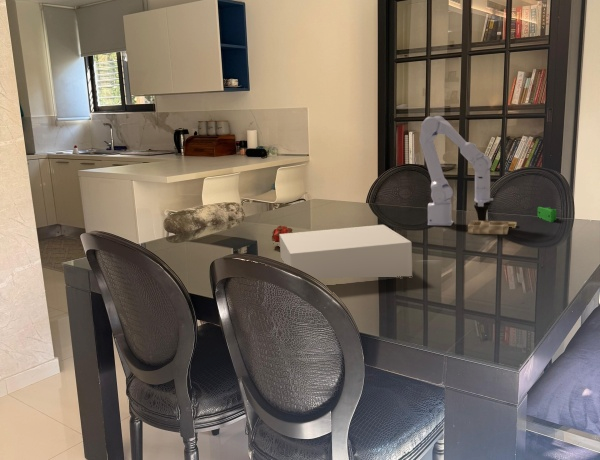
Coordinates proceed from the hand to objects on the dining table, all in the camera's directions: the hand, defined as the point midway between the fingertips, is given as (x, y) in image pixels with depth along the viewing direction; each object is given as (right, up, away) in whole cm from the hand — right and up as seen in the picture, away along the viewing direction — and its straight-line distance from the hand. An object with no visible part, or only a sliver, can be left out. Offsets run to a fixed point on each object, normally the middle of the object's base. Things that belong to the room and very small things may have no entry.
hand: (482, 221), depth 225 cm
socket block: (-1, -4, -9) cm, 10 cm away
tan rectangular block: (+9, -2, -3) cm, 10 cm away
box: (-59, -17, -50) cm, 79 cm away
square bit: (0, -2, 0) cm, 2 cm away
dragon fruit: (-78, -10, -13) cm, 80 cm away
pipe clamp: (+29, +1, +6) cm, 29 cm away
